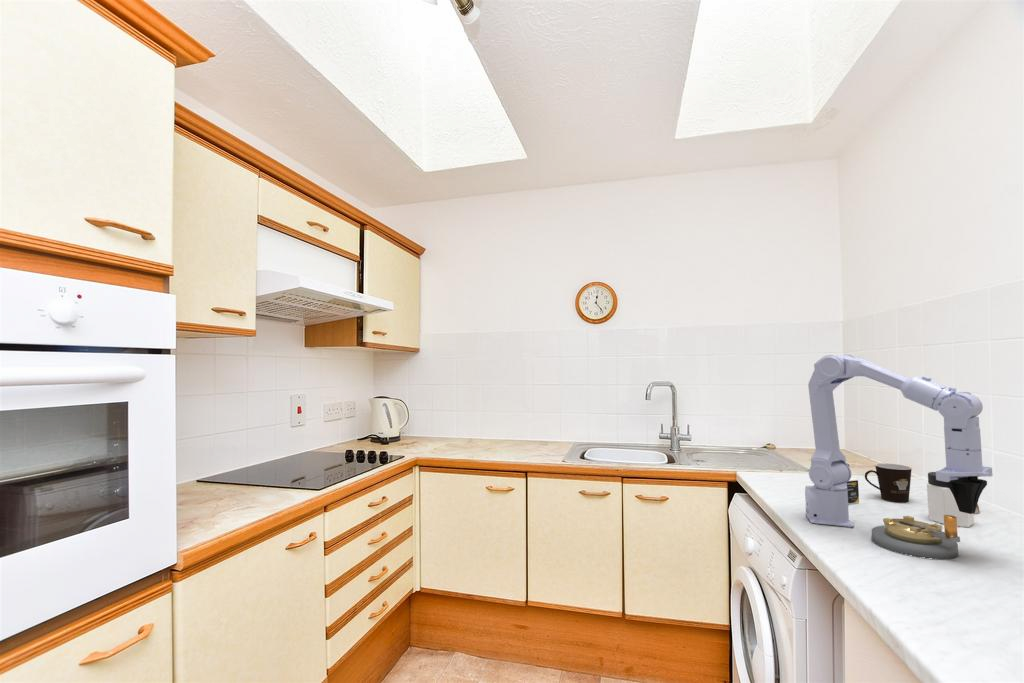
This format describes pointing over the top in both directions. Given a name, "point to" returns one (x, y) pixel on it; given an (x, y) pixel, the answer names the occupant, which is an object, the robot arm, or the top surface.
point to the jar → (944, 503)
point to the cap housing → (914, 546)
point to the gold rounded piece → (921, 530)
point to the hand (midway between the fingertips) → (966, 512)
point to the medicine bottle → (852, 490)
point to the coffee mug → (893, 482)
